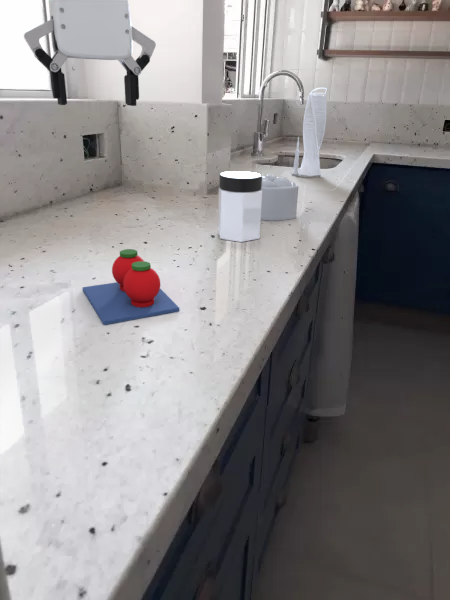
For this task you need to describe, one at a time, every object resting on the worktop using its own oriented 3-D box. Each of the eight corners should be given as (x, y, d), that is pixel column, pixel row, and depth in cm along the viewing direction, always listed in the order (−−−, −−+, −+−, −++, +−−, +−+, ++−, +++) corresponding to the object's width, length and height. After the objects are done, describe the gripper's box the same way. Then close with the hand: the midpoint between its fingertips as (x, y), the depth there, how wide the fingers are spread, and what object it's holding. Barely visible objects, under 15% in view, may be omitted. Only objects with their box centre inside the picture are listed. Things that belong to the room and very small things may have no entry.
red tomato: (118, 296, 66) (116, 259, 64) (109, 284, 70) (106, 248, 67) (152, 291, 68) (150, 254, 66) (141, 280, 72) (139, 244, 69)
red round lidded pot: (130, 312, 61) (128, 272, 59) (120, 299, 65) (117, 260, 63) (166, 306, 63) (165, 267, 61) (153, 293, 67) (152, 256, 65)
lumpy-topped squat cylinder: (244, 208, 119) (245, 172, 115) (297, 211, 117) (300, 175, 113) (237, 217, 109) (238, 179, 106) (294, 222, 107) (297, 182, 104)
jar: (266, 234, 98) (270, 173, 93) (252, 244, 91) (255, 180, 86) (226, 228, 101) (227, 169, 96) (209, 237, 94) (210, 175, 90)
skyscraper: (307, 173, 172) (316, 87, 160) (325, 176, 166) (335, 87, 155) (291, 175, 167) (298, 86, 155) (309, 178, 161) (318, 87, 150)
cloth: (103, 325, 59) (103, 321, 59) (82, 290, 69) (82, 287, 69) (179, 311, 63) (179, 307, 63) (149, 280, 73) (149, 277, 73)
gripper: (143, -27, 68) (147, 104, 75) (10, -44, 60) (29, 103, 67) (161, -37, 62) (164, 106, 69) (16, -58, 54) (36, 105, 61)
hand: (97, 105), depth 68 cm, fingers open, 9 cm apart
